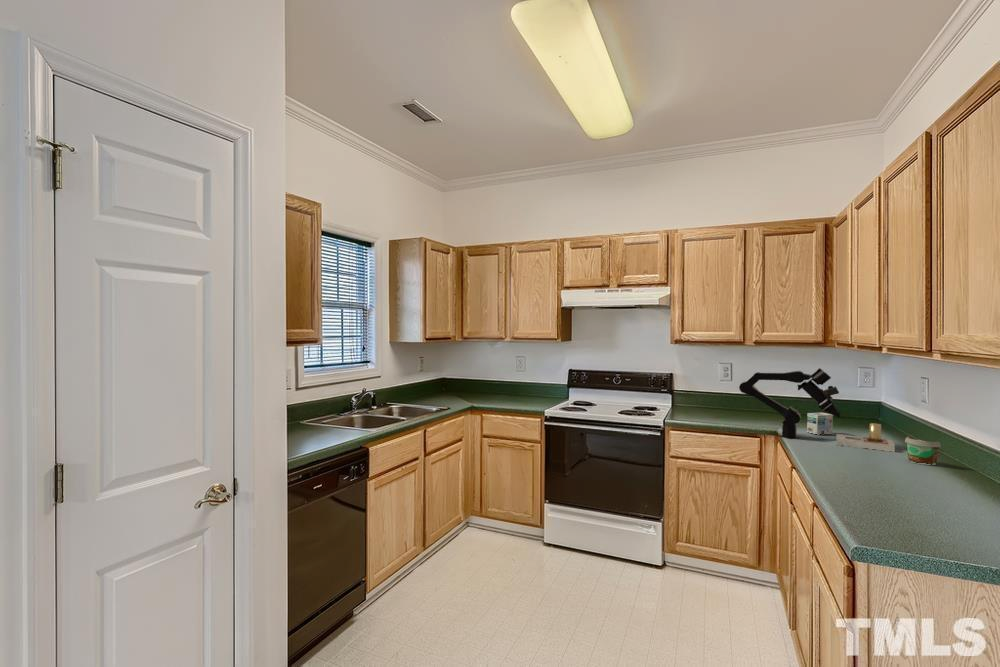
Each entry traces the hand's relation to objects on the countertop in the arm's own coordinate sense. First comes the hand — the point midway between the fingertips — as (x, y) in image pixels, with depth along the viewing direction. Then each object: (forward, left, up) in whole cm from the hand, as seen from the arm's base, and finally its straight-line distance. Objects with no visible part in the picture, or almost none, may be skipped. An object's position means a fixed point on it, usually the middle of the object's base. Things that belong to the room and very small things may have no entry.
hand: (839, 415), depth 245 cm
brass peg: (+8, -12, -14) cm, 20 cm away
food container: (-6, -36, -14) cm, 39 cm away
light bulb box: (+12, +18, -14) cm, 26 cm away
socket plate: (+5, -8, -14) cm, 17 cm away
